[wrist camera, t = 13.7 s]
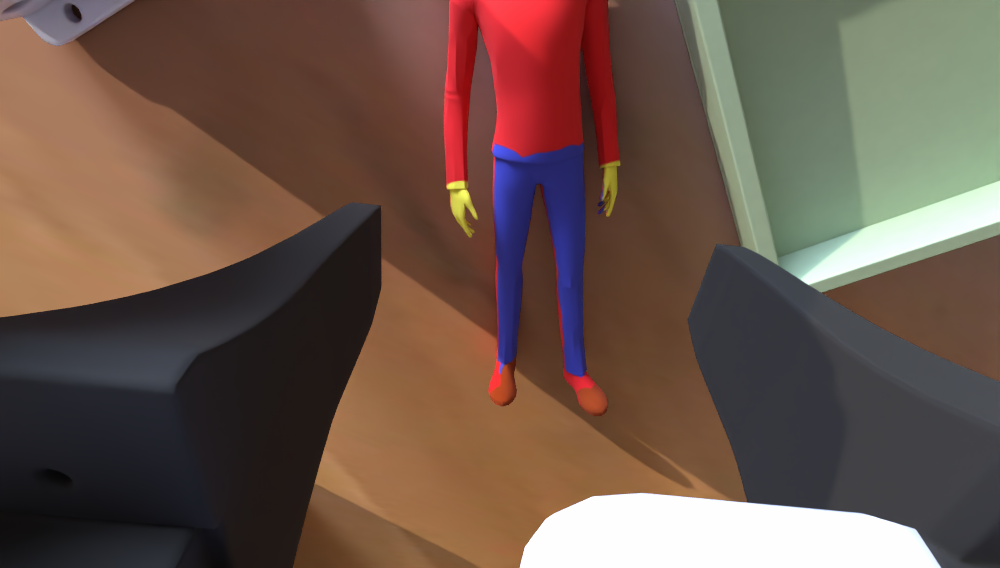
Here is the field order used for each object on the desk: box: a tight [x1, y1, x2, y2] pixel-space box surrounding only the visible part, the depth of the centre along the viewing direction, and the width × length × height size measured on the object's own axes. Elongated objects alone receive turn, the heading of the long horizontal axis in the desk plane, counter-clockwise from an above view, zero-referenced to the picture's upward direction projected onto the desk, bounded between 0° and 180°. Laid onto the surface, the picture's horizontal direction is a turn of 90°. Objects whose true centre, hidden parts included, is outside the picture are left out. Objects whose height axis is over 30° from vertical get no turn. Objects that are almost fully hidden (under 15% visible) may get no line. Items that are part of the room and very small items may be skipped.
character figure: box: [444, 0, 620, 416], centre depth 17 cm, size 6×4×20 cm
